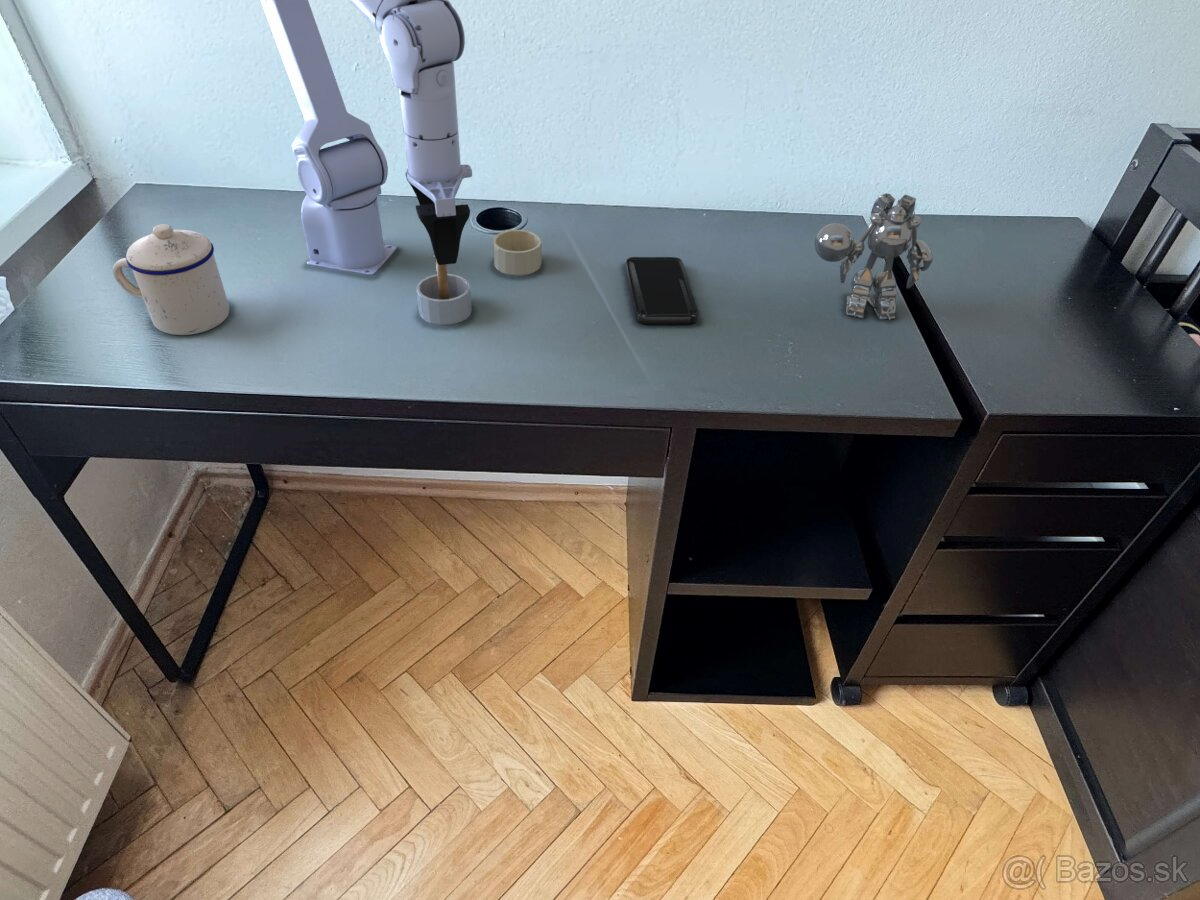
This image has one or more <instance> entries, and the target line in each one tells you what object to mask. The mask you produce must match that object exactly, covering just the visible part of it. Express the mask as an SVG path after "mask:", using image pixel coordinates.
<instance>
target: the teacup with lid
mask: <svg viewBox="0 0 1200 900" xmlns="http://www.w3.org/2000/svg"><path fill="white" fill-rule="evenodd" d="M214 252H215V248H214V244H213V243H212V242H211V240H210V239H209V238H208V237H207V236H206V235H204V234H203V233H200V232H197V231H194V230H188V229H174V228H173V227H172V226H171V225H169V224H167V223H160V224H157V225H155V226H153V228H152V233H150V234H147V235H145V236H143V237H141V238H138V239H137V240H136V241H134V242H133V243H132V244H131V245H130V246H129V247H128V249H127V250H126V257H122V258H120V259H118V260H117V261H116V262H115V263H114V264H113V267H112V275H113V277H114V279H115V281H116V282H117V283H118V285H119V286H120V287H121V288H122V290H124V291H125V292H126V293H127V294H129V295H131V296H133V297H135V298H139V299H143V301H144V304H145V306H146V309H147V312H148V315H149V317H150V320H151V323H152V324H153V327H155V328H156V329H157V330H159V331H161V332H162V333H165V334H168V335H174V336H190V335H197V334H201V333H204V332H207V331H211V330H212V329H214V328H217V327H218V326H219V325H221V324H222V323H223V322H224V321H225V320H226V319H227V318H228V316H229V314H230V311H231V310H230V304H229V301H228V298H227V294H226V291H225V288H224V284H223V281H222V277H221V273H220V271H219V268H218V264H217V262H216V258H215V255H214ZM124 267H127V268H130V269H131V270H132V273H133V275H134V278H135V280H136V284H137V285H138V287H137V286H135V285H134V284H133V283H132V282H131V281H129V279H128V278H127V277H126V275H125V273H124V270H123V268H124Z"/></svg>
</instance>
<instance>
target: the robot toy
mask: <svg viewBox="0 0 1200 900" xmlns="http://www.w3.org/2000/svg"><path fill="white" fill-rule="evenodd" d="M916 201H917V198H916V197H914V196H912V195H908V194H903V195H902V197H901V198H898V199H897V202H896V198H895V197H894V196H892V194H890V193H888V192H886V193H883V194H880V195H879V196H878V197H877V199H875V200H874V202H873V204H872V205H873V206H872V208H871V211H870V217H869V220H870V223H869V225H868V226H867V228H866V230H865V231H864V232H863V234H862V235H861V237H860V239H856V240H855V239H854V235H853V232H852V230H851V229H850V228H849V227H848V226H846V225H844V224H842V223H838V222H836V223H835V222H833V223H829V224H826V225H825V226H823V227H822V228H821V229H819V230H818V232H817V234H816V236H815V239H814V251H815V253H816V254H817V255H818V256H819V258H820V259H822V260H823V261H825V262H829V263H837V262H840V261H841V263H840V265H839V280H840V281H839V282H840V283H841V284H845V282H846V278H847V275H848V273H849V272H850V271H851V269H852V266H853V264H855V263H856V262H857V260H858V259H859V258H860V257H861V256H862V255H863V253H864V250H865V246H866V245H865V241H866V239H867V247H868V249H869V250H870V254H869V256H868V258H867V260H866V263H865V265H864V268H861V269H859V270H858V271H856V272H855V273H854V274H853V277H852V280H851V282H850V286H851V290H852V293H850V294H849V295H847V296H846V306H845V314H846V315H847V316H850V317H851V316H852V317H856V318H859V319H864V318H865V309H866V306H867V302H868V303H869V305H870V306H871V307H873V310H874V313H875V314H876V316H877V317H878V320H894V319H896V316H895V315H896V310H897V305H896V298H897V297H896V296H897V280H896V277H895V274H894V272H893V264H894V259H895V258H898V257H900V256H901V255H902V254H903V253H906V252H907V254H906V259H907V261H908V264H909V271H910V273H909V276H908V278H907V280H906V289H911V288H912V287H913V286H914V284H915V283H916V281H919V280H920V273H921V272H925V271H927V270H928V269H929V268H930V266H931V264H932V263H933V252H932V250H931V248H930V246H929V245H928V244H927V243H926V242H925V241H923V240H922V239H918V228H919V227H920V226H921V223H922V218H921V217H920V216H918V215H916V211H915V210H916V207H917V205H918V203H916ZM895 202H896V204H895ZM910 245H911V246H910ZM878 259H882V260H885V261H884V266H883V270H882V271H879V272H878V273H877V274H875V275H874V276H873V272H872V271H873V268H874V266H875V263H876V262H877V260H878ZM842 260H843V261H842ZM872 288H873V291H874V294H873V295H871V296H869V295H870V292H871V290H872Z"/></svg>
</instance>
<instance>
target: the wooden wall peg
mask: <svg viewBox="0 0 1200 900" xmlns="http://www.w3.org/2000/svg"><path fill="white" fill-rule="evenodd" d="M435 267H436V274H437V279H438V289H439V299H438V300H445V299H452V298H456V297H450V298H449V289H448V277H447V274H448V267H447V264H446V265H438V263H437V260H436V259H435Z"/></svg>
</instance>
